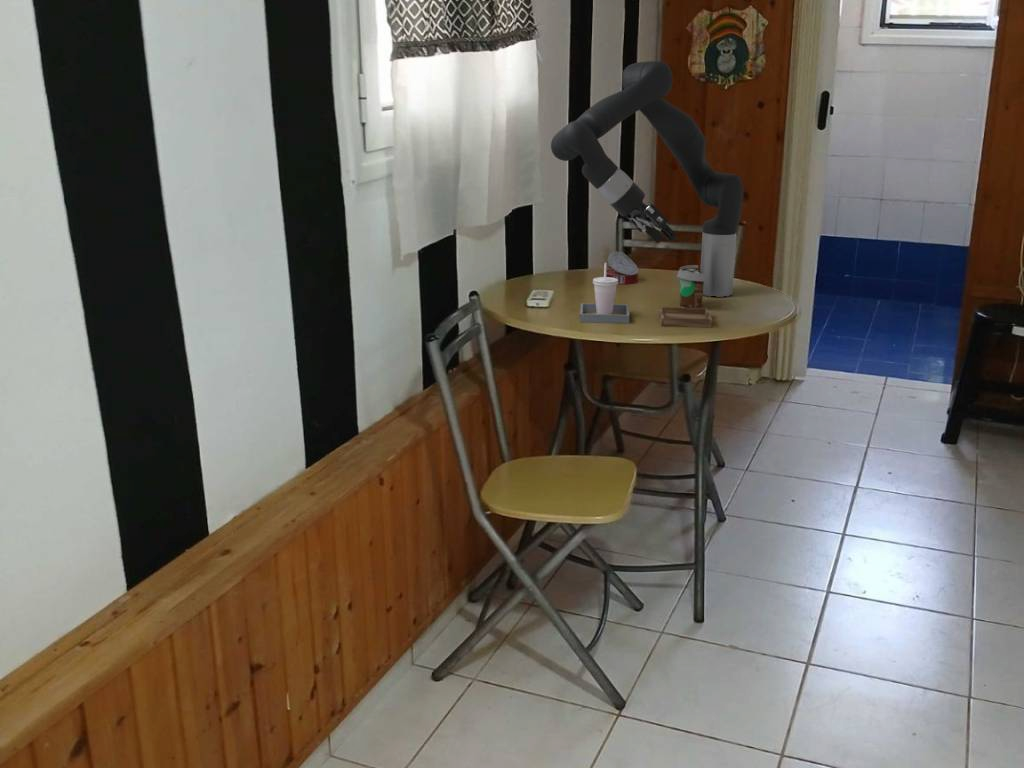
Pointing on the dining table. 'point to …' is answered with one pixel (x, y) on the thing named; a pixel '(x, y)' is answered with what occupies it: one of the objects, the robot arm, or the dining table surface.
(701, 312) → the walnut tray
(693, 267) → the food container
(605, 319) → the grey square frame
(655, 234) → the robot arm
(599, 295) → the smoothie
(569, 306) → the dining table surface
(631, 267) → the canned food
